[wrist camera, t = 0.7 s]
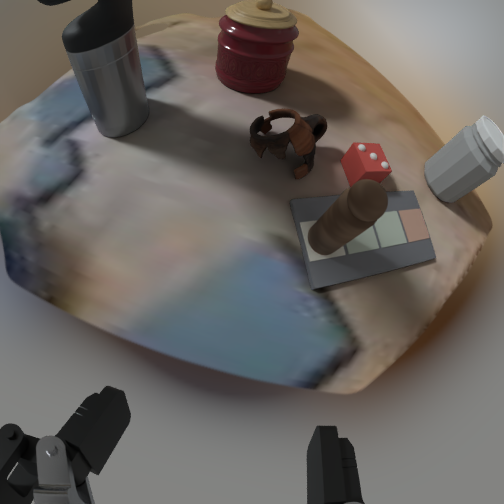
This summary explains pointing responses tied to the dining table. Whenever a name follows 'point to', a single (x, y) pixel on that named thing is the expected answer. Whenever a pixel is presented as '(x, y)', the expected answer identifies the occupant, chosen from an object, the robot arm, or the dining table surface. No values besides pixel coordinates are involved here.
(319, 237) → the walnut pawn
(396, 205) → the game board
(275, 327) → the dining table surface
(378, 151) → the red die
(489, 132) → the jar
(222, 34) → the canister
